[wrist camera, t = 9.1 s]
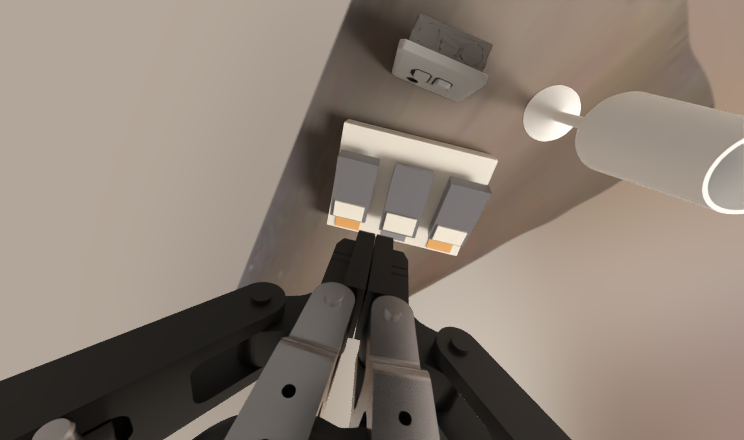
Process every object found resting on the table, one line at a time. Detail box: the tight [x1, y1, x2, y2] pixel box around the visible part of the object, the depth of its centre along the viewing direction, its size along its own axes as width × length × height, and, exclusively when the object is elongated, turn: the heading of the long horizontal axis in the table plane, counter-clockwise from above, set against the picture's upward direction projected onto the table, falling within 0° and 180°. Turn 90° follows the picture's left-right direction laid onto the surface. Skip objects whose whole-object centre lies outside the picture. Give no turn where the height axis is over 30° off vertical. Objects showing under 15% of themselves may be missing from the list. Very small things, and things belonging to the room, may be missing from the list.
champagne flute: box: [523, 85, 744, 214], centre depth 26 cm, size 7×7×24 cm
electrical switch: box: [392, 13, 492, 102], centre depth 31 cm, size 9×5×9 cm, turn 70°
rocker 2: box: [428, 176, 492, 247], centre depth 38 cm, size 9×5×2 cm, turn 168°
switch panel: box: [327, 119, 498, 256], centre depth 41 cm, size 15×20×4 cm
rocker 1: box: [330, 149, 380, 223], centre depth 38 cm, size 9×5×2 cm, turn 168°
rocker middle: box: [379, 162, 435, 238], centre depth 38 cm, size 9×5×2 cm, turn 167°
